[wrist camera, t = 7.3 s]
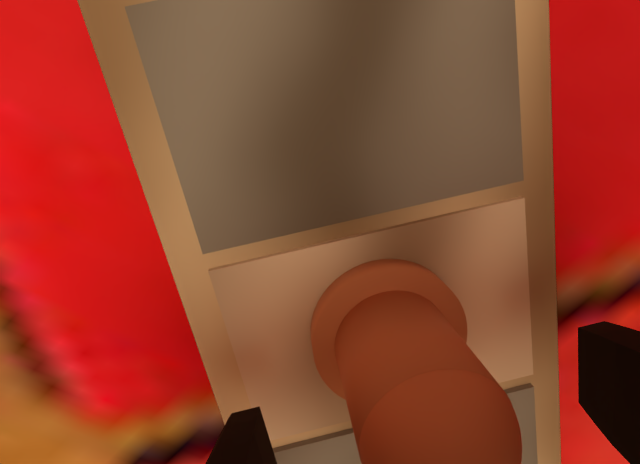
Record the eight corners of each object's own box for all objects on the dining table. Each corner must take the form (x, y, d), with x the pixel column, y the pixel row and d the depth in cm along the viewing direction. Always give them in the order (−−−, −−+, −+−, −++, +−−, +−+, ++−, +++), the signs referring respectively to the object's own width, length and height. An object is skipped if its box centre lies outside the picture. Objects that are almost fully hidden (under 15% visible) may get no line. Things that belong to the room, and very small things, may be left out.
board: (504, -463, 8) (541, -554, 7) (545, 496, 16) (565, 524, 15) (-35, -379, 8) (-87, -462, 7) (282, 566, 16) (283, 601, 15)
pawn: (447, 243, 11) (598, 361, 6) (461, 371, 13) (596, 560, 7) (295, 278, 11) (313, 431, 6) (326, 404, 13) (363, 622, 7)
